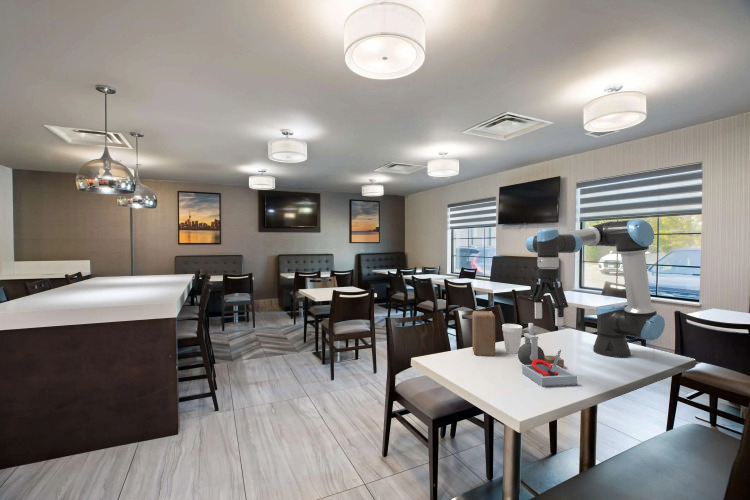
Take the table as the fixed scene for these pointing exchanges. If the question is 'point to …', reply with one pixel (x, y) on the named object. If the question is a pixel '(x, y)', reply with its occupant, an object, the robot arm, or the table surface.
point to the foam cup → (512, 337)
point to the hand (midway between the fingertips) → (548, 321)
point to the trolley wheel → (530, 348)
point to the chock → (551, 359)
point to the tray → (549, 381)
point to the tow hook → (552, 368)
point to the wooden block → (483, 333)
